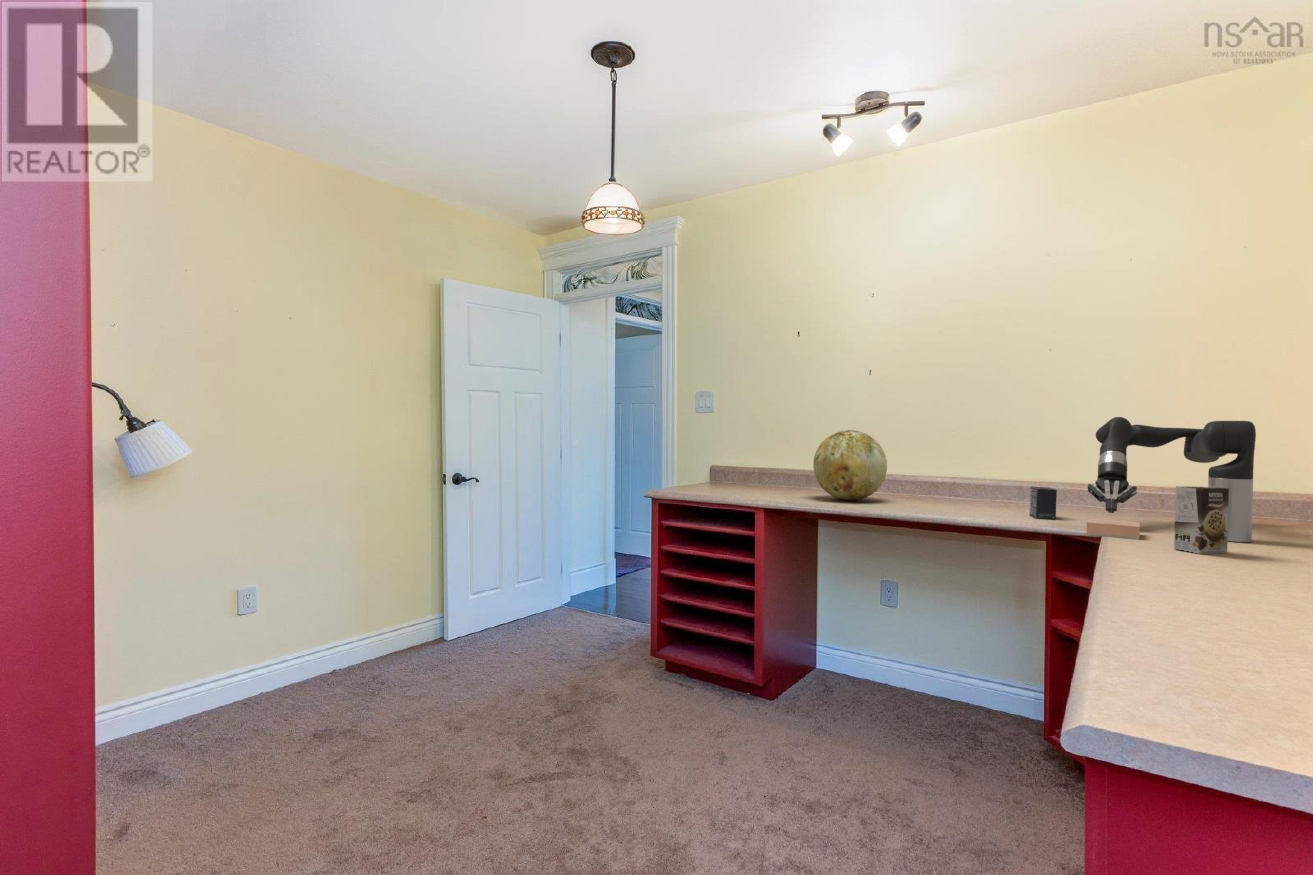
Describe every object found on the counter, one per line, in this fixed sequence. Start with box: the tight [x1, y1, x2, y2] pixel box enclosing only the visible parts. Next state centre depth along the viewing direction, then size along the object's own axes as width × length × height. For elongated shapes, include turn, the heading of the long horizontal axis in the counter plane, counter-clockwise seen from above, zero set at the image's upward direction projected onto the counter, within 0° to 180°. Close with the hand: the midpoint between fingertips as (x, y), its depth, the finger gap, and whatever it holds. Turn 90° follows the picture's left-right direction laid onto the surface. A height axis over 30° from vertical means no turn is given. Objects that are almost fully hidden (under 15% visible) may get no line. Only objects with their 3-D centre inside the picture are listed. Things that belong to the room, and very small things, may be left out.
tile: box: [1086, 518, 1141, 540], centre depth 181 cm, size 4×12×12 cm
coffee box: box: [1173, 486, 1229, 555], centre depth 155 cm, size 9×6×16 cm
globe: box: [812, 429, 888, 502], centre depth 266 cm, size 30×30×30 cm
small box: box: [1028, 486, 1058, 520], centre depth 218 cm, size 11×6×10 cm, turn 160°
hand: (1110, 511), depth 189 cm, fingers closed
